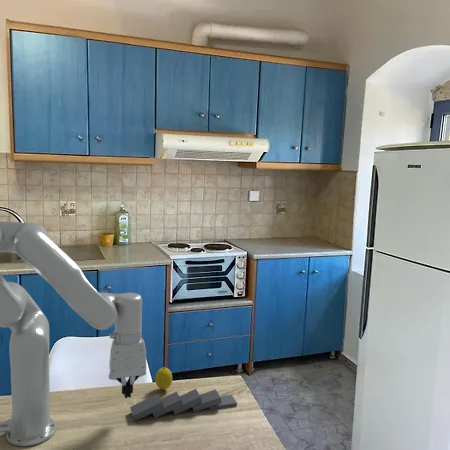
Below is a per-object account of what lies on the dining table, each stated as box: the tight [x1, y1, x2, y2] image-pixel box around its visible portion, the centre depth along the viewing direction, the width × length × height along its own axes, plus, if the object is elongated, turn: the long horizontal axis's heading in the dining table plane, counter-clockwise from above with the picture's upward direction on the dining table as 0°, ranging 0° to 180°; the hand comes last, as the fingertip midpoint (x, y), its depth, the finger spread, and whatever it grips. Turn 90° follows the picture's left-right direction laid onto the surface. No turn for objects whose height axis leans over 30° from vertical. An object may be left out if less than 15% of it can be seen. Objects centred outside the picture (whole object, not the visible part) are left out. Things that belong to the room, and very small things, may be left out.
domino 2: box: [152, 391, 183, 419], centre depth 138 cm, size 2×5×9 cm
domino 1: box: [129, 393, 164, 422], centre depth 136 cm, size 2×5×9 cm
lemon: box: [155, 366, 173, 391], centre depth 151 cm, size 6×6×8 cm
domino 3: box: [172, 388, 202, 416], centre depth 140 cm, size 2×5×9 cm
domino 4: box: [191, 389, 221, 413], centre depth 142 cm, size 2×5×9 cm
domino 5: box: [208, 394, 238, 411], centre depth 145 cm, size 2×5×9 cm
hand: (127, 395), depth 133 cm, fingers closed
